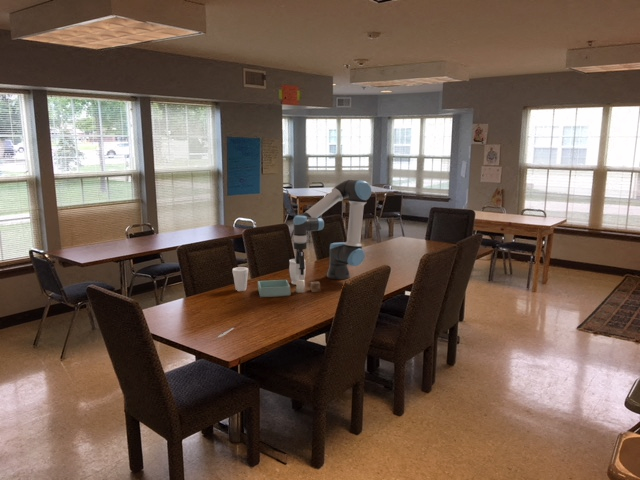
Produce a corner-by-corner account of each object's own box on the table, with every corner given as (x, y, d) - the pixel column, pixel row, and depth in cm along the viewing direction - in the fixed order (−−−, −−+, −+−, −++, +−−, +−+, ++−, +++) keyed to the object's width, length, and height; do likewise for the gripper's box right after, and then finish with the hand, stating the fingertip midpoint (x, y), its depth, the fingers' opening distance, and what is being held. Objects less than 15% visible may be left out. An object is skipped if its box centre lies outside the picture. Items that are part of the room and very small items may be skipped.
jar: (303, 285, 318) (303, 262, 315) (287, 284, 320) (287, 261, 317) (307, 281, 328) (307, 258, 325) (291, 280, 330) (291, 257, 327)
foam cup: (252, 289, 310) (251, 268, 308) (241, 292, 303) (241, 271, 300) (240, 286, 316) (239, 266, 313) (230, 290, 308) (229, 269, 306)
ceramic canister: (304, 290, 308) (304, 278, 307) (305, 292, 303) (305, 281, 302) (295, 290, 307) (295, 279, 306) (297, 292, 302) (297, 281, 301)
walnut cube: (318, 289, 310) (318, 281, 309) (320, 291, 305) (320, 283, 304) (310, 289, 309) (310, 281, 308) (312, 292, 304) (312, 284, 303)
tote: (287, 288, 312) (286, 279, 311) (290, 295, 297) (290, 286, 296) (258, 289, 309) (257, 281, 308) (260, 297, 293) (259, 288, 292)
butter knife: (214, 336, 234) (220, 336, 233) (245, 318, 258) (250, 319, 257) (214, 337, 234) (220, 338, 233) (245, 319, 258) (250, 320, 257)
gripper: (290, 238, 311) (290, 272, 315) (296, 246, 287) (296, 282, 290) (303, 238, 312) (302, 271, 316) (310, 245, 288) (309, 282, 292)
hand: (300, 277), depth 303 cm, fingers open, 13 cm apart
